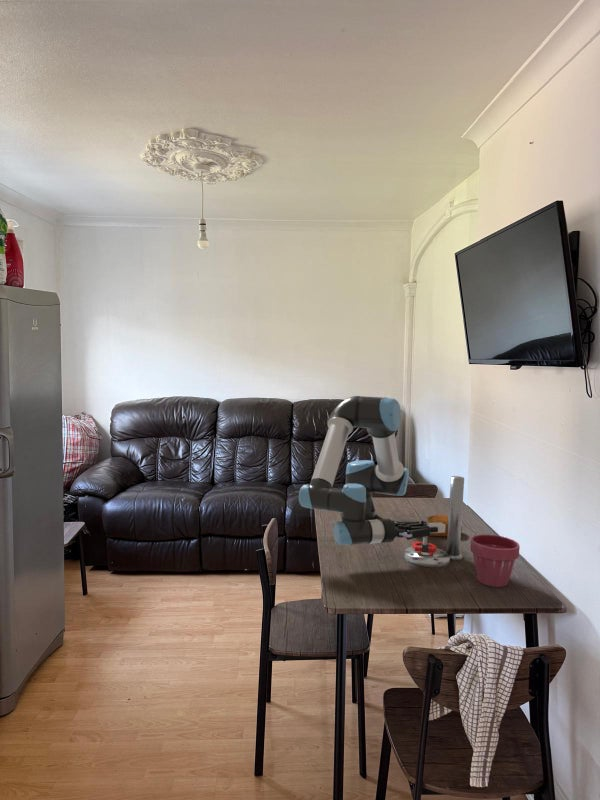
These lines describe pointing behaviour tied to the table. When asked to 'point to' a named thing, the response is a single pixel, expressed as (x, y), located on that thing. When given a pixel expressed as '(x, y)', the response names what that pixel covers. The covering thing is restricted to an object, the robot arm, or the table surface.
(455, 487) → the paper towel holder
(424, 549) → the tow hook
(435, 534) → the croissant
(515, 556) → the plant pot
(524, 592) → the table surface
